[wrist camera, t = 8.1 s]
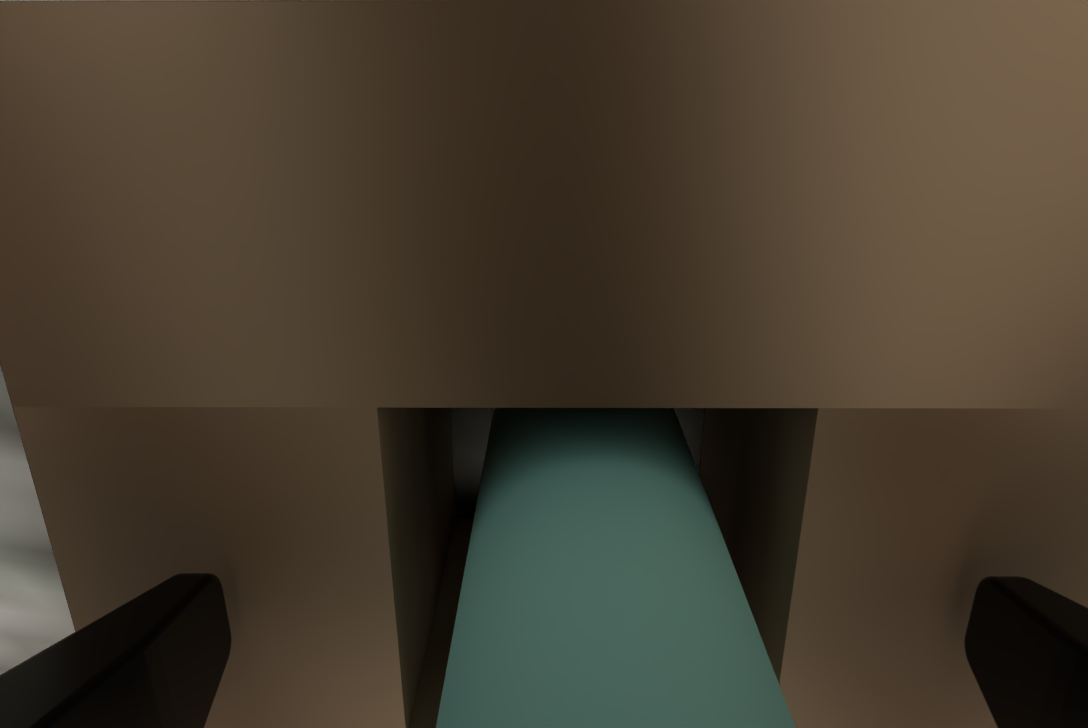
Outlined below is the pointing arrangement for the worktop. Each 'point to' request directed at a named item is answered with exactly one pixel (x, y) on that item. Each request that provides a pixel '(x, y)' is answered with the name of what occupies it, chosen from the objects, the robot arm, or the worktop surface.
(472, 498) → the worktop surface
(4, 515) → the worktop surface
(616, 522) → the peg
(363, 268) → the socket block
